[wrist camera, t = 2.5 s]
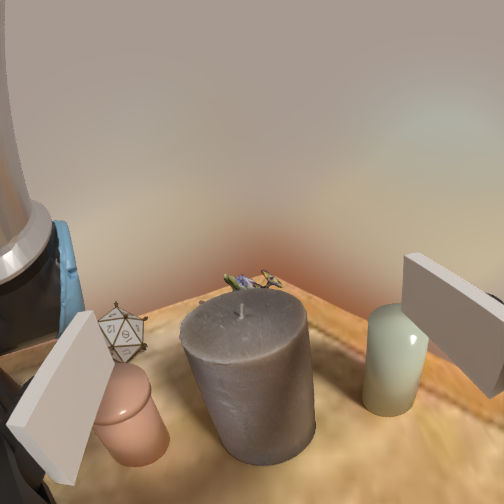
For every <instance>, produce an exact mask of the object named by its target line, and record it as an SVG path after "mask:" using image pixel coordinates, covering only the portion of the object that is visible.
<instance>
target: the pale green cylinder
mask: <svg viewBox="0 0 504 504" xmlns="http://www.w3.org/2000/svg"><path fill="white" fill-rule="evenodd" d="M428 341H429V337H428V336H427V335H426V334H425V333H423V332H422V331H421V330H420V329H419V328H418V327H417V326H416V325H415V324H414V323H413V322H412V321H411V320H410V319H409V318H408V317H407V316H406V315H405V314H404V313H403V312H401V304H400V303H399V304H397V303H396V304H388V305H384V306H381V307H379V308H377V309H375V310H374V311H373V312H372V313H371V314H370V316H369V320H368V337H367V351H366V362H365V373H364V383H363V392H362V402H363V404H364V406H365V407H366V408H367V410H369V411H370V412H371V413H373V414H375V415H378V416H382V417H394V416H399V415H401V414H404V413H405V412H407V411H408V410H409V409H410V408H411V407H412V406H413V404H414V401H415V398H416V394H417V390H418V386H419V382H420V378H421V374H422V370H423V365H424V361H425V356H426V351H427V346H428Z"/></svg>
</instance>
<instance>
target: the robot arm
mask: <svg viewBox="0 0 504 504" xmlns="http://www.w3.org/2000/svg"><path fill="white" fill-rule="evenodd" d="M4 15H5V0H0V356H2V355H6V354H8V353H12V352H15V351H18V350H21V349H24V348H27V347H30V346H33V345H37V344H39V343H43V342H46V341H49V340H52V339H58V338H59V340H58V341H57V343H56V344H55V346H54V347H53V349H52V350H51V352H50V353H49V355H48V356H47V358H46V359H45V361H44V362H43V364H42V365H41V367H40V368H39V370H38V371H37V373H36V375H35V376H33V377H32V378H31V379H29V380H28V381H27V382H26V383H25V384H24V385H23V387H21V386H20V385H18V384H17V383H16V382H15V381H14V380H13V379H12V378H11V377H10V376H9V375H8V374H7V373H6V372H5V371H4V370H2V369H1V368H0V504H56V502H55V500H54V498H53V496H52V494H51V492H50V490H49V487H48V486H47V485H46V483H45V482H44V481H43V478H44V475H45V473H46V474H47V475H48V476H49V477H50V478H51V479H52V480H53V481H54V482H55V483H58V484H64V485H71V486H74V485H75V482H76V478H77V475H78V471H79V468H80V464H81V461H82V458H83V454H84V451H85V448H86V445H87V442H88V438H89V435H90V432H91V429H92V426H93V423H94V420H95V417H96V414H97V411H98V409H99V406H100V403H101V400H102V397H103V394H104V392H105V389H106V386H107V383H108V381H109V378H110V375H111V373H112V370H113V367H114V365H115V363H114V361H113V359H112V356H111V354H110V351H109V349H108V347H107V344H106V342H105V339H104V337H103V334H102V332H101V329H100V327H99V324H98V321H97V319H96V316H95V313H94V311H93V310H90V311H85V306H84V300H83V295H82V290H81V286H80V281H79V277H78V274H77V267H76V261H75V256H74V251H73V246H72V241H71V236H70V232H69V228H68V225H67V223H66V222H65V221H57V220H54V221H52V219H51V216H50V214H49V212H48V210H47V209H46V207H44V205H42V204H41V203H39V202H37V201H34V200H31V199H30V198H29V195H28V191H27V187H26V184H25V180H24V176H23V172H22V168H21V163H20V159H19V154H18V150H17V145H16V140H15V134H14V129H13V123H12V116H11V110H10V103H9V95H8V86H7V75H6V63H5V62H6V61H5V35H4V21H5V18H4V17H5V16H4ZM401 312H403V313H404V314H405V315H406V316H407V317H408V318H409V319H410V320H411V321H412V322H413V323H414V324H415V325H416V326H417V327H418V328H419V329H420V330H421V331H422V332H423V333H425V334H426V335H427V336H428V337H429V338H430V339H431V340H432V341H433V342H434V343H435V344H436V345H437V346H438V347H439V348H440V349H441V350H442V351H443V352H444V353H445V354H446V355H447V356H448V357H449V358H450V359H451V360H452V361H453V362H454V363H455V364H456V365H457V366H458V367H459V368H460V369H461V370H462V371H463V372H464V373H465V374H466V375H467V376H468V377H469V378H470V379H471V381H472V382H473V383H474V384H475V385H476V386H477V387H478V388H479V389H480V390H481V391H482V392H483V393H484V394H485V395H486V396H487V397H488V398H489V399H491V398H493V397H494V396H496V395H498V394H499V393H501V392H502V391H504V303H503V301H501V300H500V299H498V298H497V297H495V296H494V295H491V294H488V293H485V292H483V291H482V290H480V289H478V288H477V287H475V286H474V285H472V284H470V283H469V282H467V281H466V280H464V279H462V278H461V277H459V276H458V275H456V274H454V273H453V272H451V271H449V270H448V269H446V268H444V267H443V266H441V265H439V264H438V263H436V262H434V261H432V260H431V259H429V258H427V257H426V256H424V255H422V254H420V253H419V252H415V253H411V254H406V255H404V266H403V287H402V302H401Z"/></svg>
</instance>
